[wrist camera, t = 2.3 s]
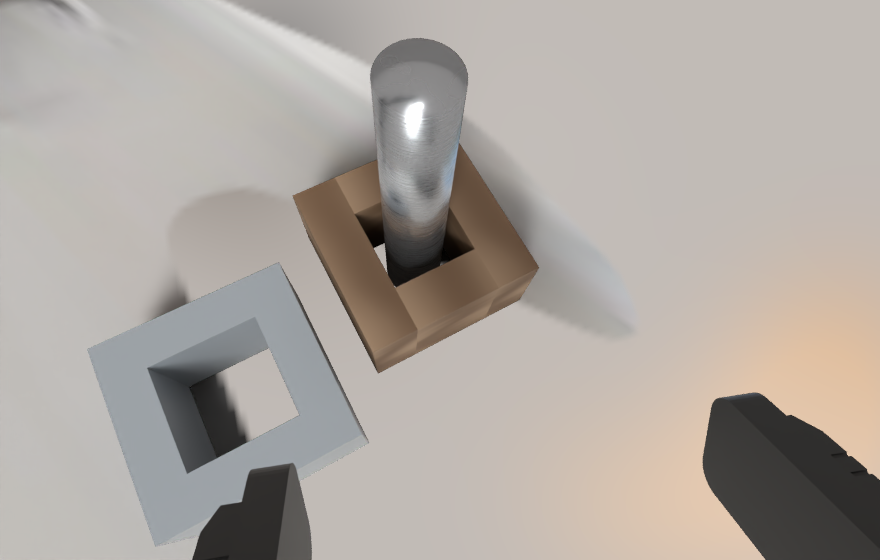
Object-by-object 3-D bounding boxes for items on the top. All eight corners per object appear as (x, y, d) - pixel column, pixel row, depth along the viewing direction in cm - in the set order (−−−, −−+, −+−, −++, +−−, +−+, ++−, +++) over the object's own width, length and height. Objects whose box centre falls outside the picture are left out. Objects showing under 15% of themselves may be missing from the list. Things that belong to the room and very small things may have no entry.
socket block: (199, 535, 26) (155, 546, 22) (138, 371, 29) (87, 349, 24) (369, 442, 28) (361, 434, 24) (297, 296, 31) (278, 262, 26)
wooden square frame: (378, 373, 30) (372, 352, 25) (308, 237, 32) (292, 195, 28) (519, 299, 32) (539, 267, 27) (443, 177, 34) (449, 128, 29)
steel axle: (402, 301, 31) (398, 131, 16) (378, 258, 32) (353, 58, 17) (448, 278, 32) (485, 94, 17) (423, 236, 33) (439, 26, 18)
